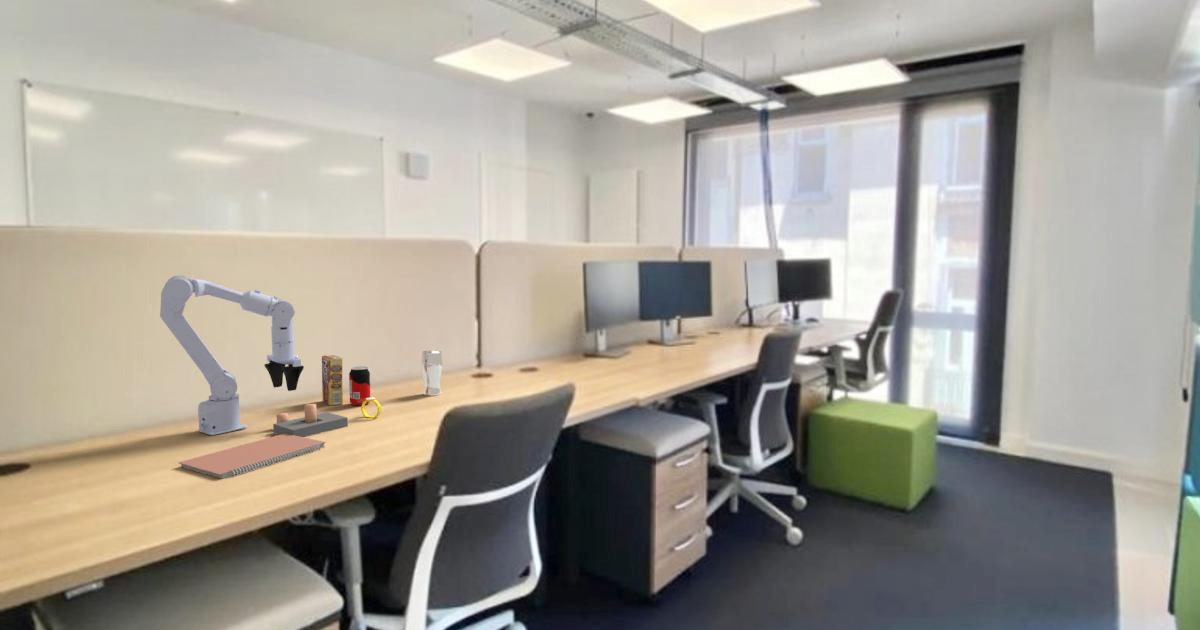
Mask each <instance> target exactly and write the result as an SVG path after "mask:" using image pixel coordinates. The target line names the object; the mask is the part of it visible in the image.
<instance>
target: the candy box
mask: <svg viewBox="0 0 1200 630" xmlns="http://www.w3.org/2000/svg"><path fill="white" fill-rule="evenodd" d="M321 386H322V388H321V390H322V393H321V394H322V401H323V402H324V403H326V404H327V405H329V406H336V405H337V406H338V405H339V404H340V405H343V398H344V397H343V394H344V393H343V358H342V357H339V356H337V355H334V354H327V355H322V356H321Z"/></svg>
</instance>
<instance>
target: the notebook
mask: <svg viewBox="0 0 1200 630" xmlns="http://www.w3.org/2000/svg"><path fill="white" fill-rule="evenodd" d="M325 444H326V441H322V440H317V439H313V438H309V437H308V438H307V437H306V436H305V437H300V436H295V435H291V434H286V433H285V434H281V435H279V434H276V435H275V436H271V437H267V438H264V439H260V440H255V441H252V442H248V443H245V444H241V445H237V446H234V447H230V448H227V449H222V450H220V451H214V452H212V453H208V454H205V455H201V456H198V457H197V456H196V457H193V458H190V459H186V460H182V461H179V462H178V464H180V468H182V467H184V468H183V469H186V468H188V469H187V470H189V469H191V470H190V471H193V470H194V471H193V472H196V471H198V472H197V473H199V472H201V473H200V474H203V473H205V474H204V475H206V474H208V475H207V476H210V475H212V476H211V477H213V476H214V478H217V477H219V478H218V479H220V478H221V479H222V478H223V479H227V478H230V477H232V475H233V477H234V476H235V477H236V476H237V475H238V476H240V475H244V474H248V470H249V473H250V472H254V471H256V470H259V469H263V468H265V467H268V466H269V465H270V466H271V465H272V464H273V465H275V463H276V464H277V463H278V462H279V463H280V462H281V461H282V462H285V460H286V461H288V460H290V459H291V458H292V459H294V457H295V458H298V457H301V456H303V455H304V454H305V455H306V454H307V453H308V454H311V453H313V452H314V451H315V452H316V451H317V450H319V451H321V449H322V448H325ZM315 449H316V450H315ZM296 455H297V456H296ZM293 456H294V457H293ZM283 459H284V460H283ZM279 460H281V461H279ZM276 461H277V462H276ZM266 464H267V465H266ZM263 465H264V466H263ZM254 468H255V469H254ZM251 469H252V470H251ZM245 472H246V473H245ZM238 473H239V474H238ZM242 473H243V474H242ZM235 474H236V475H235Z"/></svg>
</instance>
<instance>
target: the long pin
mask: <svg viewBox="0 0 1200 630" xmlns="http://www.w3.org/2000/svg"><path fill="white" fill-rule="evenodd" d="M317 410H318V409H317V403H307V404H304V417H305V423H307V424H309V423H314V422H317V414H318V413H317Z"/></svg>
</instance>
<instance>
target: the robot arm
mask: <svg viewBox="0 0 1200 630" xmlns="http://www.w3.org/2000/svg"><path fill="white" fill-rule="evenodd" d="M193 293H194V296H195V297H196V298H197V297H202V296H209V297H213V298H218V299H222V300H225V301H229V302H232V303H236V304H238V305H240V307H241V308H242V310H243V311H246V312H250V313H254V314H256V315H260V316H264V317H271V327H270V328H271V349H272V350H271V351H272V352H271V353H272V354H267V355H266V359H267V360H266V361H267V363H264V368H265V369H266V371H267V372H268V374H269V376H270V379H271V382H272V386H273V388H280V387H283V383H284V382H283V381H284V377H285V382H286V383H285V384H286V389H287V391H288V392H290V391H297V388H298V382H299V380H300V376H301V374H302V372H303V370H304V365H302V360H301V359H300V358H299V355H296V354H295V336H294V335H295V333H294V331H295V330H294V327H295V326H294V320H293V317H294V316H295V310H294V307H293V305H292V304H291V303H290V302H288V301H287V300H284V299H282V298H281V299H279V297H278V296H275V295H274V296H270V295H267V294H263V293H261V291H260V290H258V289H254V290H247V291H245V292H241V291H239V290H235V289H232V288H230V287H226V286H224V285H220V284H217V283H215V282H212V281H209V280H204V279H200V278H195V277H190V278H189V277H187V276H184V275H174V276H172V277H170V278H169V279H167V281H166V282H165V284H164V286H163V288H162V291H161V292H160V311H159V317H160V318H161V320H162V321H163V323H164V325H166V327H167V329H169V331H170V332H171V333H172V335H173V336H174V338H175V339H176V340H177V341H178V343H179V344H180V345H181V347H182V348H183V349H184V350H185V352H186V353H187V355H188V356H189V357H190V358H191V360H192V361H193V362H194V364H195V365H196V367H198V369H199V371H200V372H201V373H202V374H203V376H204V379H205V380H206V381H207V383H208V384H209V388H210V393H211V394H210V395H209V396H208V399H207V400H205V401H200V402H199V404H198V408H197V413H198V414H197V415H198V428H197V431H198V432H200V433H202V434H206V435H209V436H215V435H216V436H217V435H220V434H225V433H230V432H234V431H238V430H239V431H240V430H242V429H243V430H244V429H247V428H248V426H247V425H244V424H241V415H240V413H241V412H240V394H239V393H237V391H238V383H237V380H236V377H235V375H234V374H233V373H232V372H229V371H227V370H226V369H225V368H224V367H223V366H222V364H220V362H219V361H218V360H217V359H216V357H215V356H214V355H213V353H212V352H211V351H210V349H209V348H208V346H207V345H206V343H205V342H204V341H203V340H202V338H201V337H200V336H199V334H198V333H197V331H196V330H195V329H194V327H193V326H192V325H191V323H190V322H189V321H188V319H187V318H186V317H185V315H184V314H183V312H184V309H185V306H186V303H187V302H188V300H189V299H190V298H191V297H192V296H193Z"/></svg>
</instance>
